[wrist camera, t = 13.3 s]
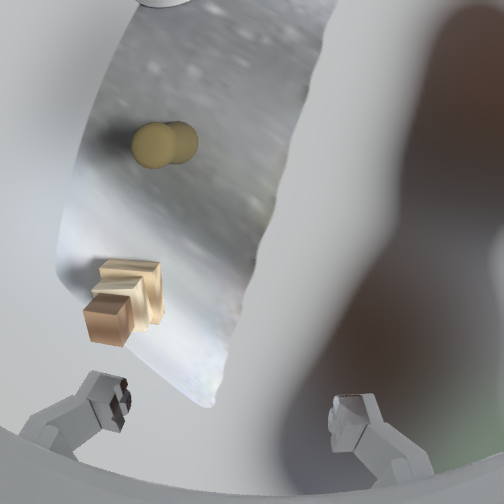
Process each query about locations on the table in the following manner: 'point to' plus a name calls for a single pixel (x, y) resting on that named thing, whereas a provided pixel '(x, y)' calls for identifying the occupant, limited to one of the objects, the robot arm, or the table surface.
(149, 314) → the tower mid
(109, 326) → the walnut cube
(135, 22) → the table surface
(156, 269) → the tower base
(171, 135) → the cork
